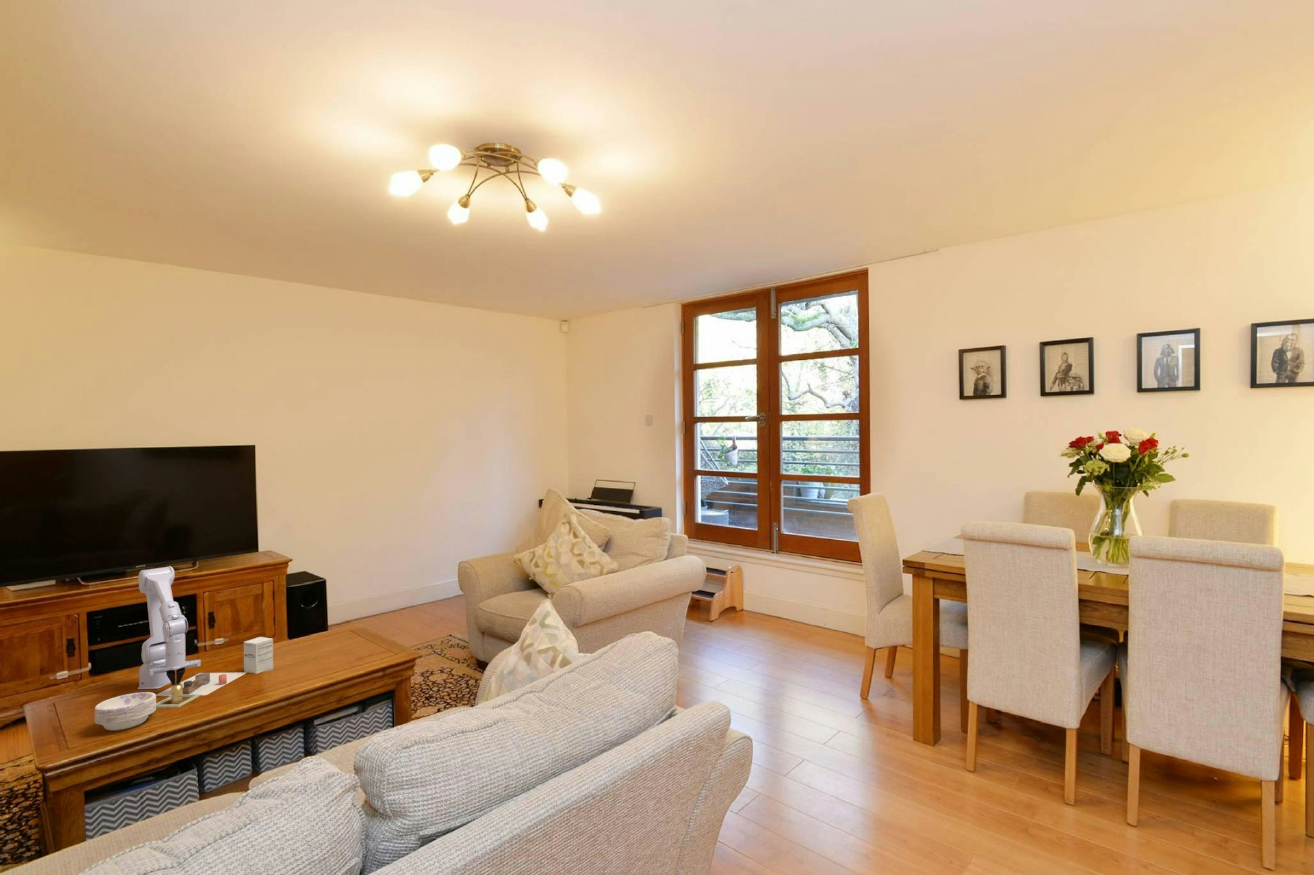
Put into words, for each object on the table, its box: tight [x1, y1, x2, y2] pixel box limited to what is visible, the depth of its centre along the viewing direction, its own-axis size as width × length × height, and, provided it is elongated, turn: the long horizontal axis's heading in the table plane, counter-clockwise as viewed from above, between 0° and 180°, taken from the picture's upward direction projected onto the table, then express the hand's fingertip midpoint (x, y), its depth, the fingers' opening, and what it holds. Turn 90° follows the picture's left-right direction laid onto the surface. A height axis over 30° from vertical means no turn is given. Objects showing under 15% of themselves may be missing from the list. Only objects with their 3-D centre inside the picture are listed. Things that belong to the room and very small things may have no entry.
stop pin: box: [170, 682, 184, 705], centre depth 217 cm, size 3×3×6 cm
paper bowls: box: [94, 691, 157, 732], centre depth 201 cm, size 15×15×8 cm
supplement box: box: [243, 636, 274, 675], centre depth 247 cm, size 7×7×13 cm
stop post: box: [219, 674, 228, 686], centre depth 232 cm, size 2×2×3 cm
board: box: [156, 671, 248, 697], centre depth 233 cm, size 19×22×1 cm
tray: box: [156, 694, 200, 709], centre depth 217 cm, size 9×9×2 cm
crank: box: [183, 672, 211, 694], centre depth 229 cm, size 13×4×4 cm, turn 9°
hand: (176, 690), depth 224 cm, fingers closed
